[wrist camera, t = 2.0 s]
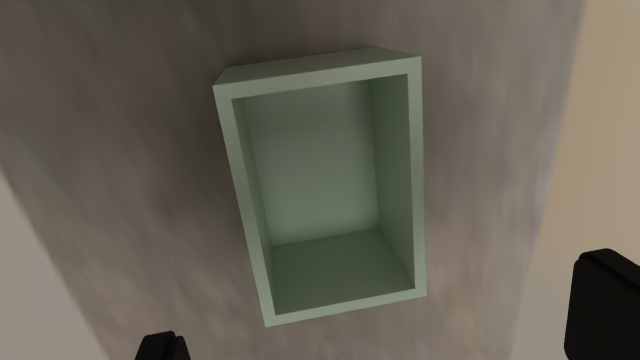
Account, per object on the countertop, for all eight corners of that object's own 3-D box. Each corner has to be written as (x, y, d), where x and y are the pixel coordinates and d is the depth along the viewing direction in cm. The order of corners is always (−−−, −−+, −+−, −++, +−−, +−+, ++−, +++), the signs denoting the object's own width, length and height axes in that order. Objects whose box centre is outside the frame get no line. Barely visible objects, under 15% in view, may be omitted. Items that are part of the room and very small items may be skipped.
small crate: (264, 251, 22) (265, 327, 17) (226, 67, 18) (212, 85, 13) (386, 229, 23) (426, 295, 17) (374, 46, 19) (421, 56, 13)
